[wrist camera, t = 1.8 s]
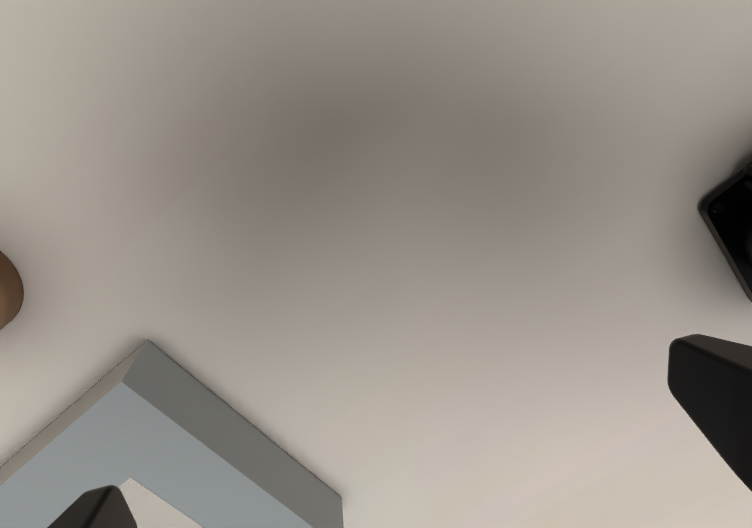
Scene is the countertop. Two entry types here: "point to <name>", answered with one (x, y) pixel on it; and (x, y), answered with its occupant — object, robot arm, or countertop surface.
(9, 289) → the peg
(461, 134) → the countertop surface
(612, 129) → the countertop surface
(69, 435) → the socket
